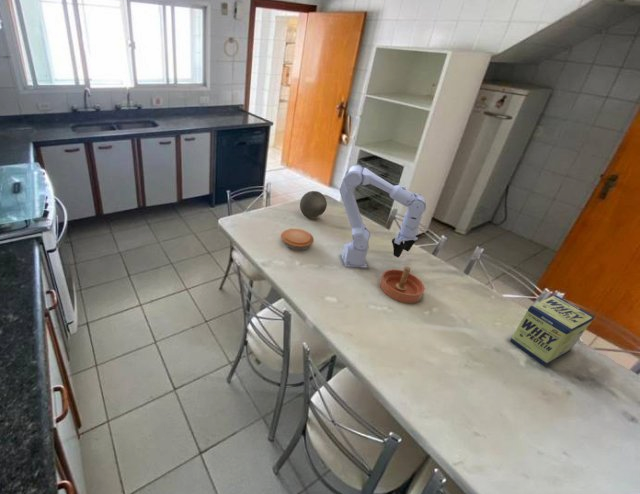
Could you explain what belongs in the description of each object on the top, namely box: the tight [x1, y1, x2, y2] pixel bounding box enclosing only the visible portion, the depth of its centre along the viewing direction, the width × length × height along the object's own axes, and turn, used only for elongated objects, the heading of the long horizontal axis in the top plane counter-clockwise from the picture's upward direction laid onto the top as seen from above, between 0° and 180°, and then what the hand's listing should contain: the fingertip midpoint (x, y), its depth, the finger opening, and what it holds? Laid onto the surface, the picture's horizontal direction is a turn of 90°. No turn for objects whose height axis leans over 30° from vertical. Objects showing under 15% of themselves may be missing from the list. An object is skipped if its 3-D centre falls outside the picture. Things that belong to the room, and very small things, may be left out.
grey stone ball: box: [299, 190, 328, 219], centre depth 178 cm, size 14×14×15 cm
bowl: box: [379, 269, 426, 304], centre depth 129 cm, size 15×15×4 cm
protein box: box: [509, 294, 596, 367], centre depth 105 cm, size 10×16×16 cm
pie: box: [280, 228, 314, 251], centre depth 155 cm, size 15×16×5 cm
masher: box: [395, 266, 411, 293], centre depth 127 cm, size 4×4×10 cm
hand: (401, 253), depth 135 cm, fingers open, 7 cm apart
